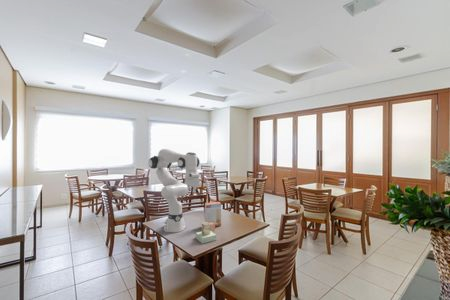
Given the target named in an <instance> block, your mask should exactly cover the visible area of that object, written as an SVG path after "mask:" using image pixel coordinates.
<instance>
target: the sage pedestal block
mask: <svg viewBox="0 0 450 300" xmlns="http://www.w3.org/2000/svg"><path fill="white" fill-rule="evenodd" d="M195 239H196V240H197V241H199V242H200V243H201V244H207V243H209V242H214V241H217V234H216V233H215V232H212V231H210V234H209V235H205V236H204V235H203V234H202V230H201V231H198V232H197V231H196V232H195Z"/></svg>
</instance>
